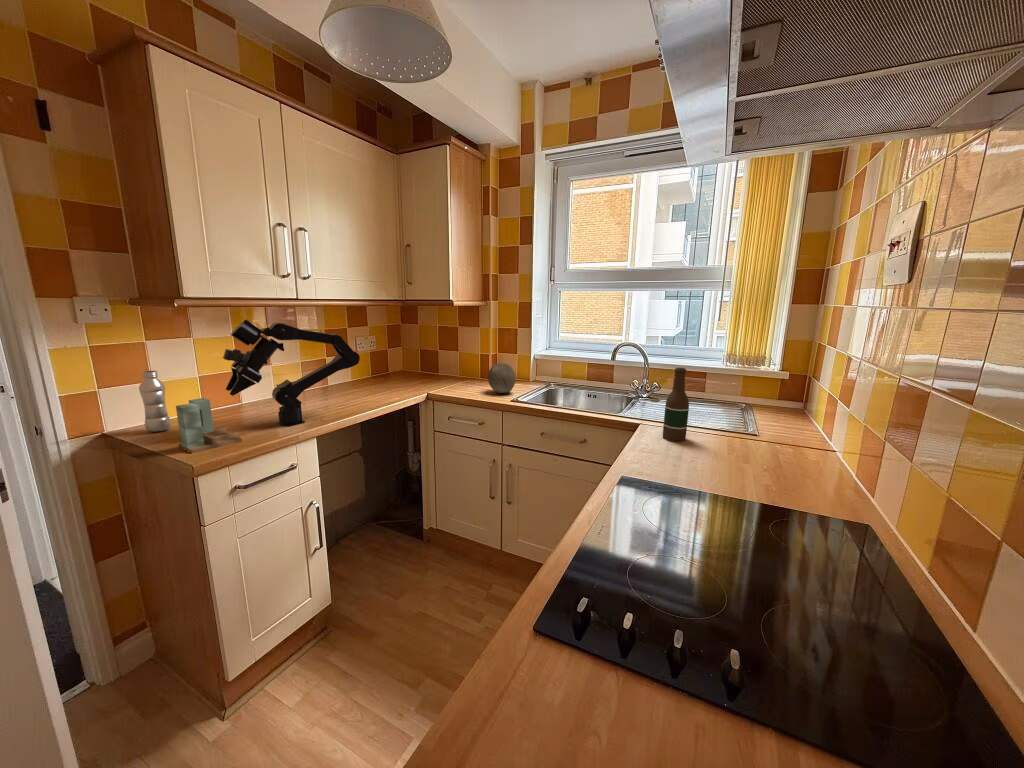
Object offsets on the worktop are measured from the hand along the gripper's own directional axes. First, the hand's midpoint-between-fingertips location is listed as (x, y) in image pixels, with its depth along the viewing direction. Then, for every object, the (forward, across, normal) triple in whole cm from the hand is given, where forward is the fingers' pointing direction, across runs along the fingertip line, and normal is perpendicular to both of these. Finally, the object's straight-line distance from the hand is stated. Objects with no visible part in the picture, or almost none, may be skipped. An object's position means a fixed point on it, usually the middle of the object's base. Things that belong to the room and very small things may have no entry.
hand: (228, 392), depth 133 cm
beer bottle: (-61, +95, +95) cm, 148 cm away
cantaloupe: (-60, +6, +93) cm, 111 cm away
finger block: (+15, -1, +3) cm, 16 cm away
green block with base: (+15, +9, +3) cm, 18 cm away
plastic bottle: (+22, -16, -6) cm, 28 cm away
